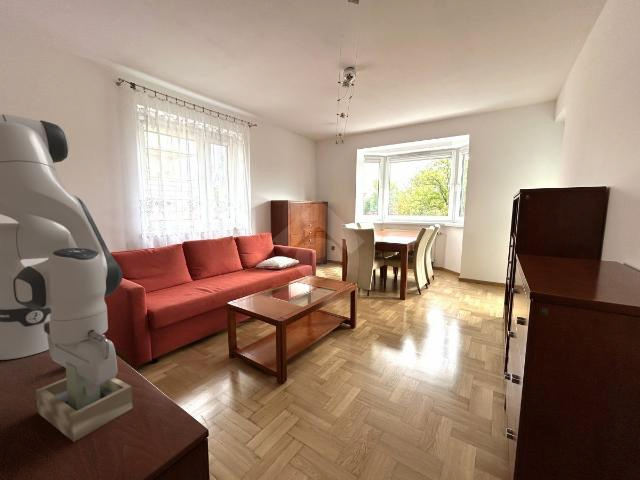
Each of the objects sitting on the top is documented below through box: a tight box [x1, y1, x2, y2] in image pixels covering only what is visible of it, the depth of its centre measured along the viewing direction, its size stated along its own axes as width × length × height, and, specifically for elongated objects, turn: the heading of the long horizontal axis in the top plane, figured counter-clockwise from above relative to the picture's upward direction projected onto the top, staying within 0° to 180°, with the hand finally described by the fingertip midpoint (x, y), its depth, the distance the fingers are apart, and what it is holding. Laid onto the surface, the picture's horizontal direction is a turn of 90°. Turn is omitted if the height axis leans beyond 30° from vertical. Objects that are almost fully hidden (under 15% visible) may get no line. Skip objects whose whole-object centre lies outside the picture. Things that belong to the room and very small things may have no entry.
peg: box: [65, 362, 100, 411], centre depth 56 cm, size 4×4×10 cm
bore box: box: [35, 376, 133, 443], centre depth 57 cm, size 16×10×5 cm, turn 63°
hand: (84, 389), depth 57 cm, fingers closed on peg, 4 cm apart
